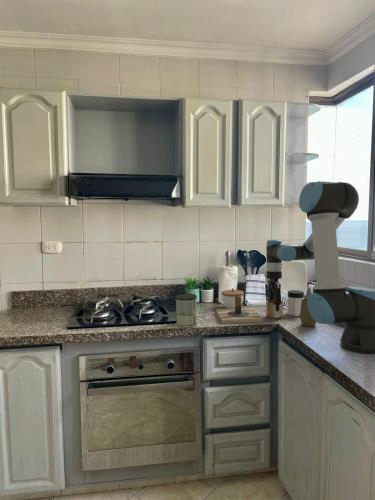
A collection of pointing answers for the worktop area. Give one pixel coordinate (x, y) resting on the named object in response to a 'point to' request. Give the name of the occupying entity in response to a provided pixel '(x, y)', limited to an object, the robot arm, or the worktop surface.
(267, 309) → the copper sleeve
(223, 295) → the lidded bowl
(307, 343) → the worktop surface
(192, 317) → the coffee can
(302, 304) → the squeeze bottle
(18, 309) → the worktop surface
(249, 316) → the post stand
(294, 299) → the jar
